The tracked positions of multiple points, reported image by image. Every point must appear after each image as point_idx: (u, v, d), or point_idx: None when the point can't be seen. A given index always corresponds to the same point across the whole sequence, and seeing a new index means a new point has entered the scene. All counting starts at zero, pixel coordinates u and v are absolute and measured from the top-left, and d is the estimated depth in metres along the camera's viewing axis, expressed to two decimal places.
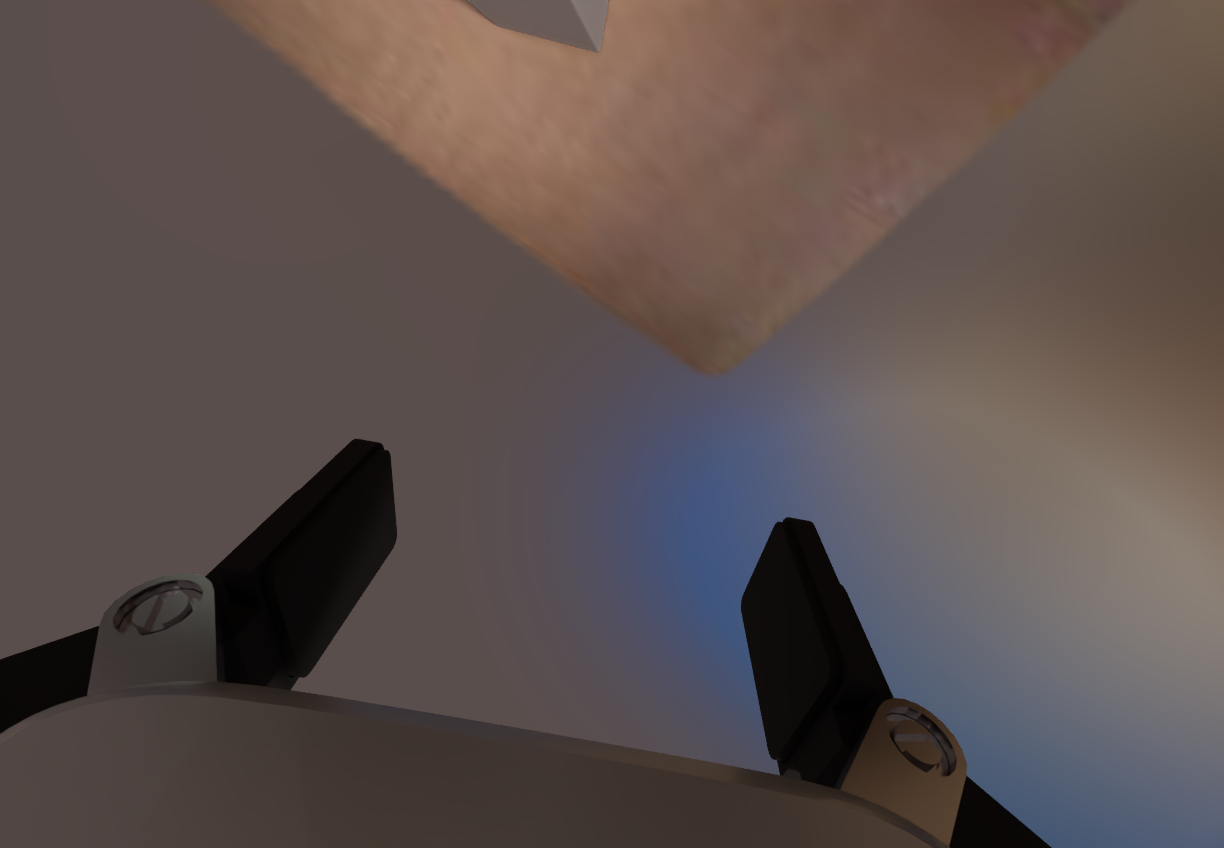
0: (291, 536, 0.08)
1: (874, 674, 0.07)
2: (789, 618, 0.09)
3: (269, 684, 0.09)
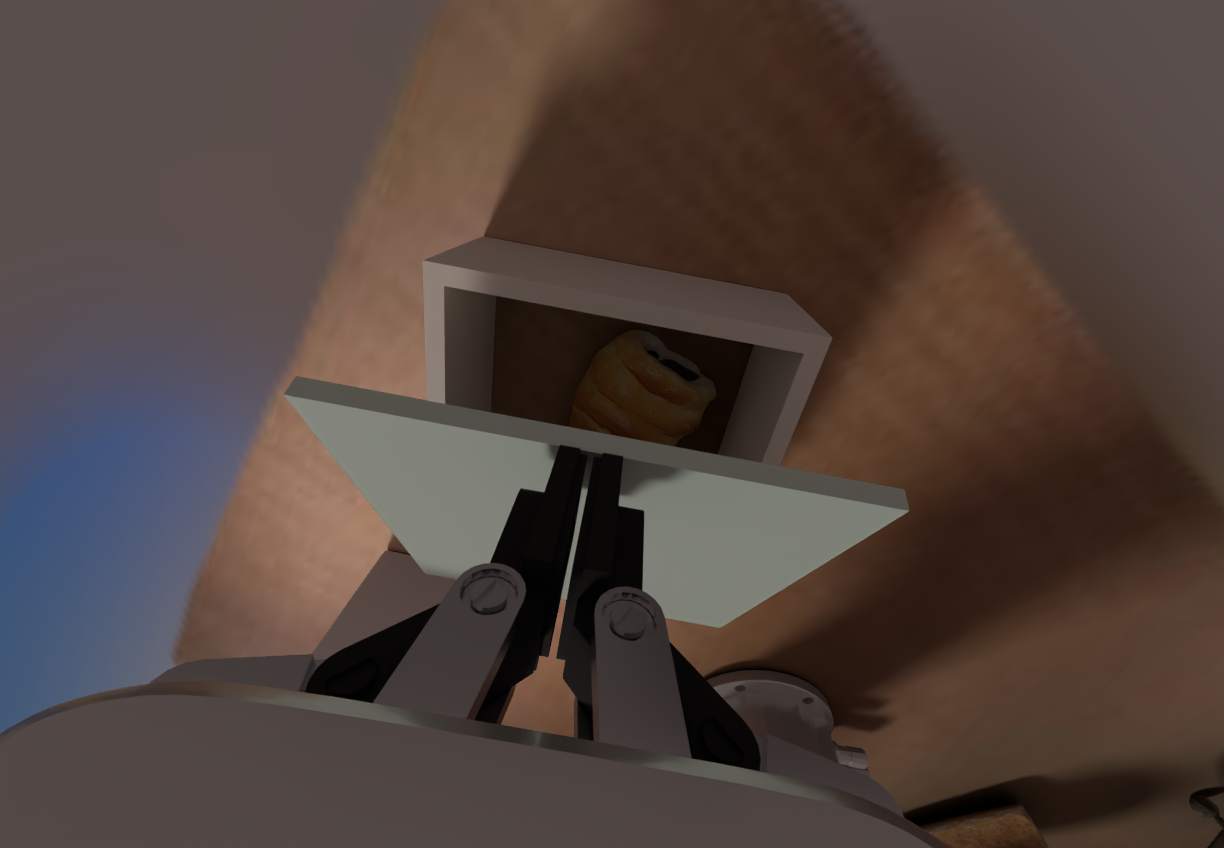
0: (560, 531, 0.09)
1: (608, 566, 0.08)
2: None
3: None
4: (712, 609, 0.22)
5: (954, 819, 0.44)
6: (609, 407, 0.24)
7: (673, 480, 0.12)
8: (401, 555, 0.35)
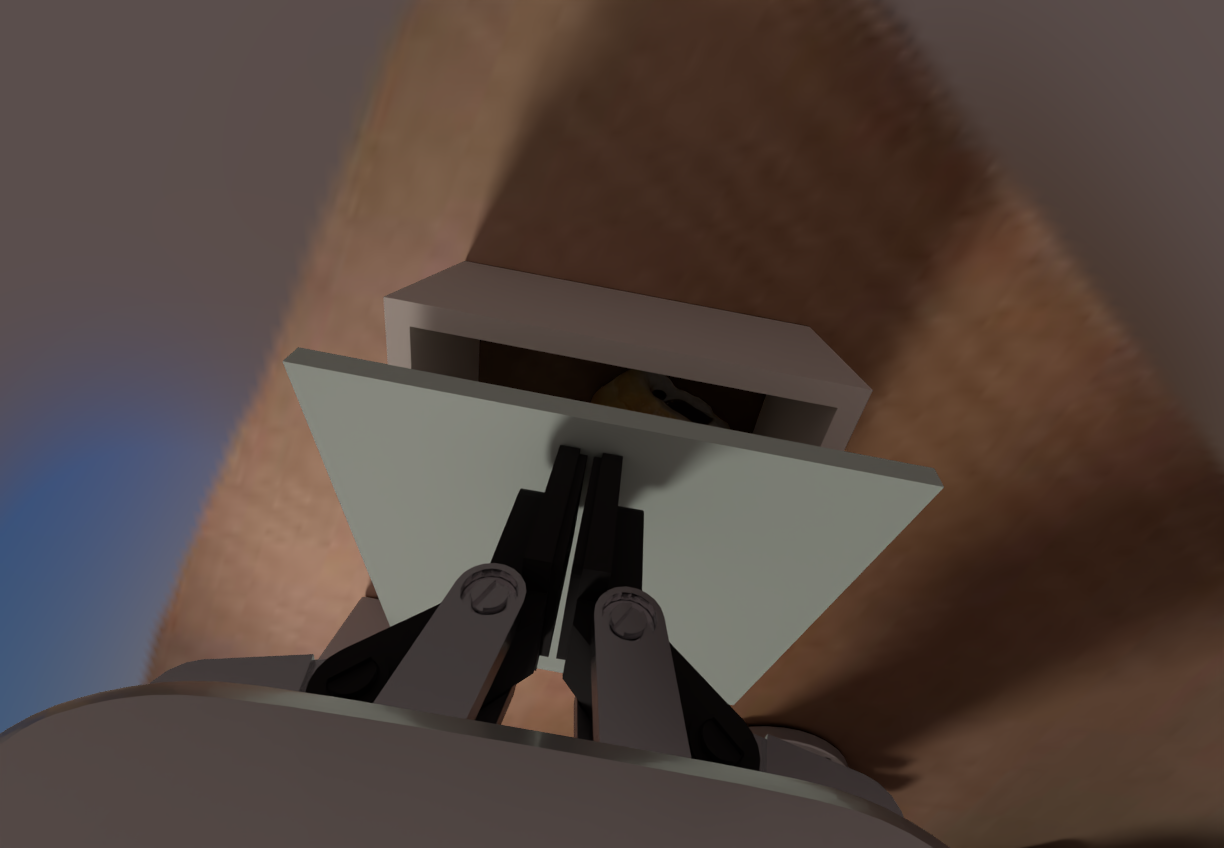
0: (560, 531, 0.09)
1: (607, 566, 0.08)
2: None
3: None
4: (725, 672, 0.19)
5: None
6: None
7: (692, 460, 0.12)
8: None
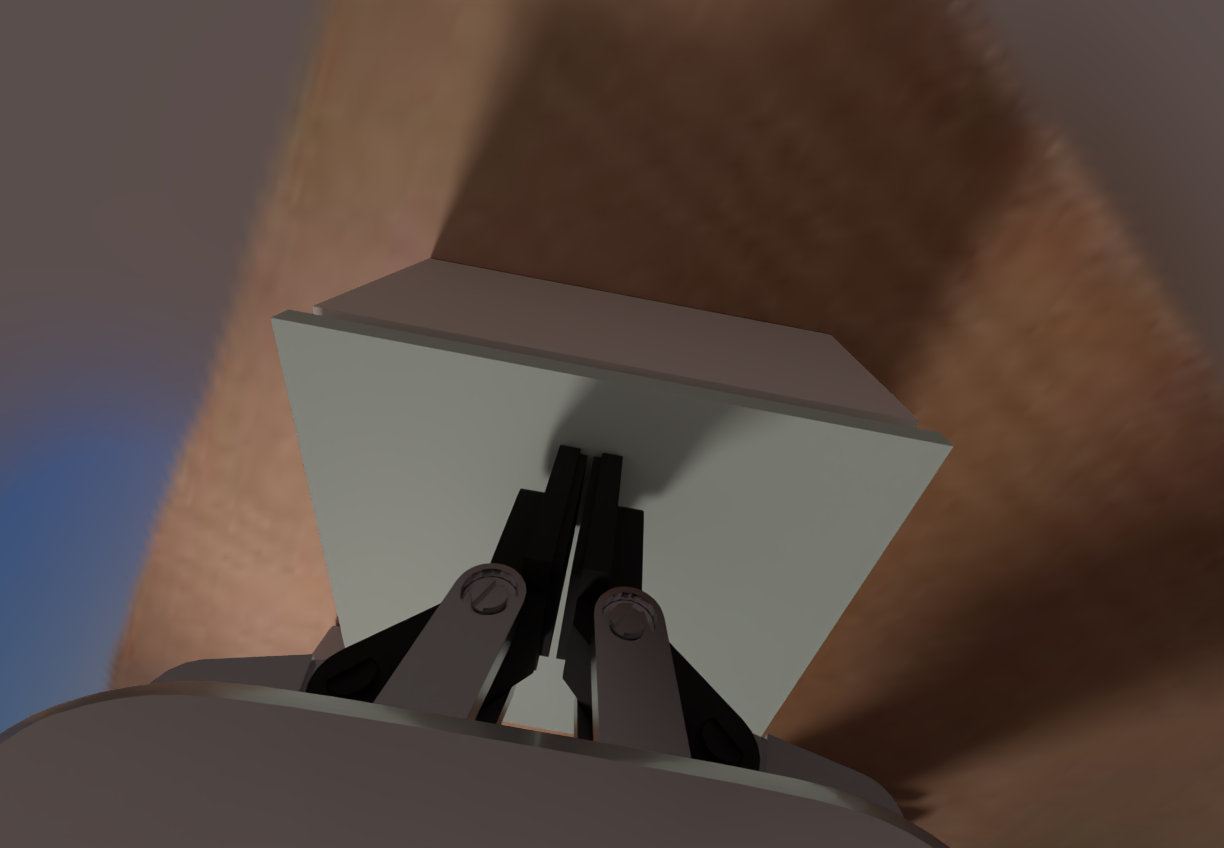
0: (560, 531, 0.09)
1: (607, 566, 0.08)
2: None
3: None
4: None
5: None
6: None
7: (695, 424, 0.11)
8: None
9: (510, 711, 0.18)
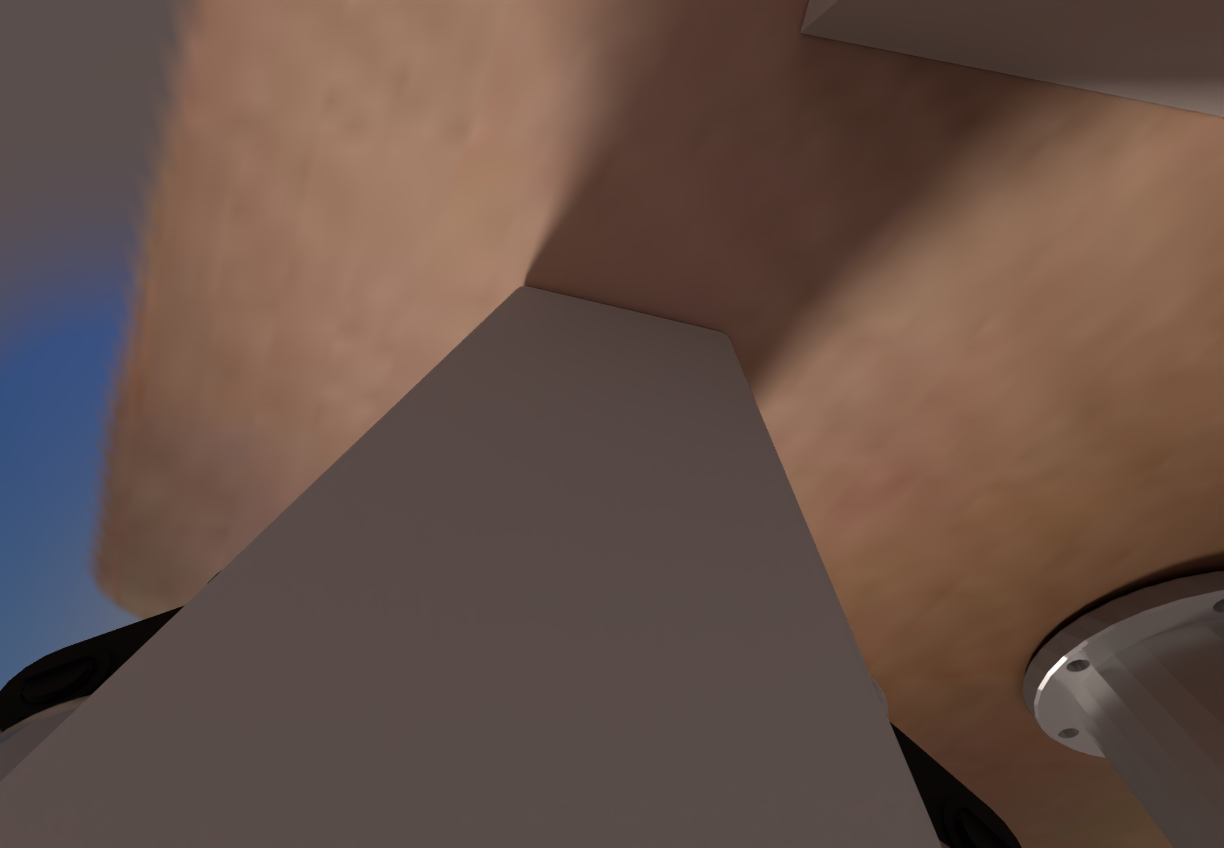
0: None
1: None
2: None
3: None
4: None
5: None
6: None
7: None
8: (558, 294, 0.15)
9: None
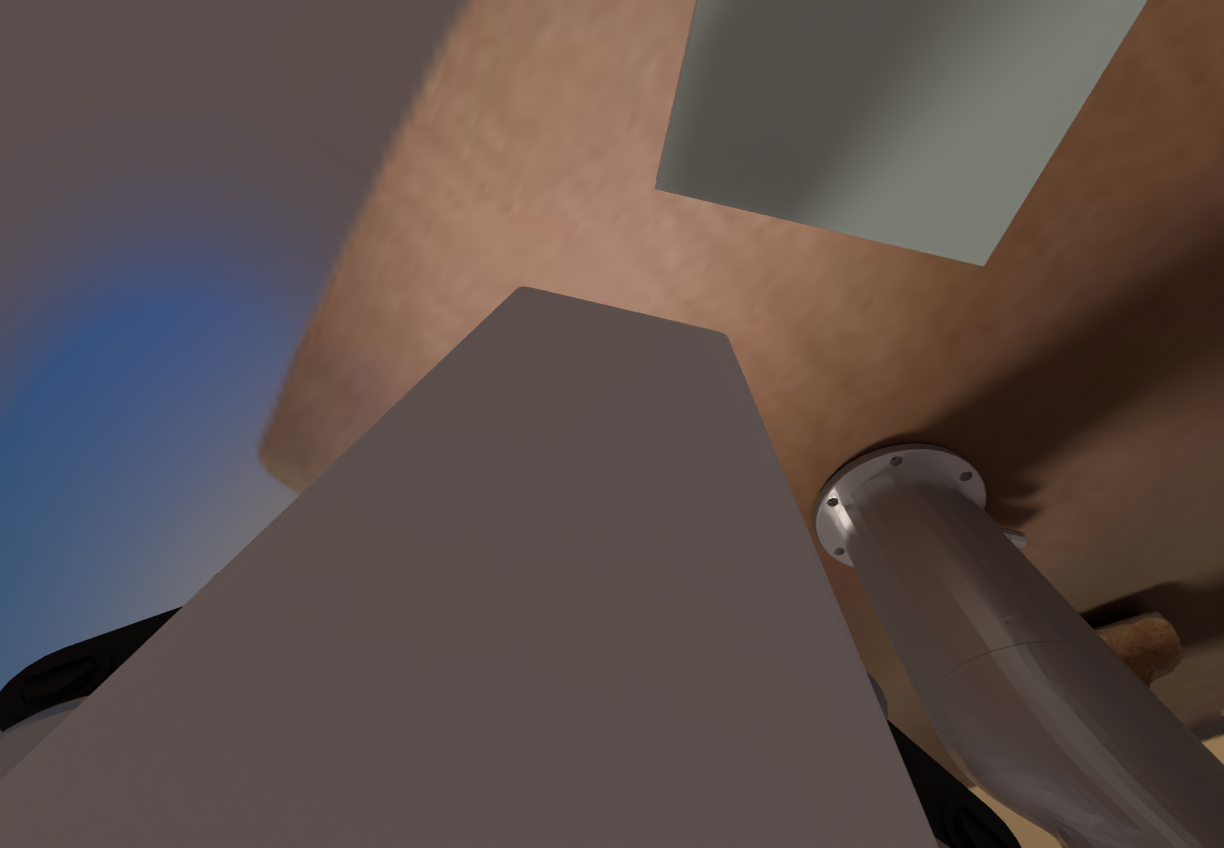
0: None
1: None
2: None
3: None
4: (1001, 181, 0.20)
5: None
6: None
7: None
8: (557, 295, 0.15)
9: (795, 200, 0.21)
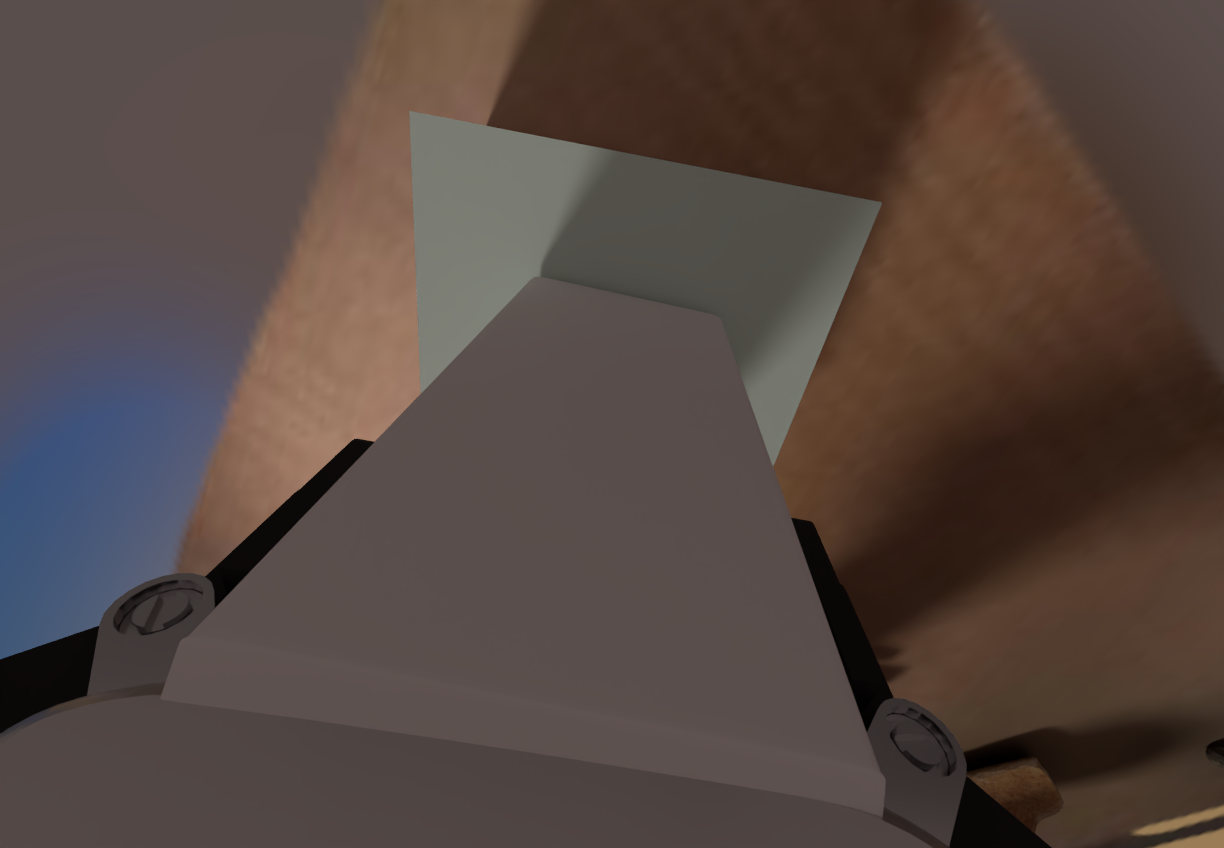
0: None
1: (874, 674, 0.07)
2: None
3: None
4: None
5: (966, 773, 0.43)
6: None
7: (703, 191, 0.16)
8: (568, 283, 0.17)
9: None
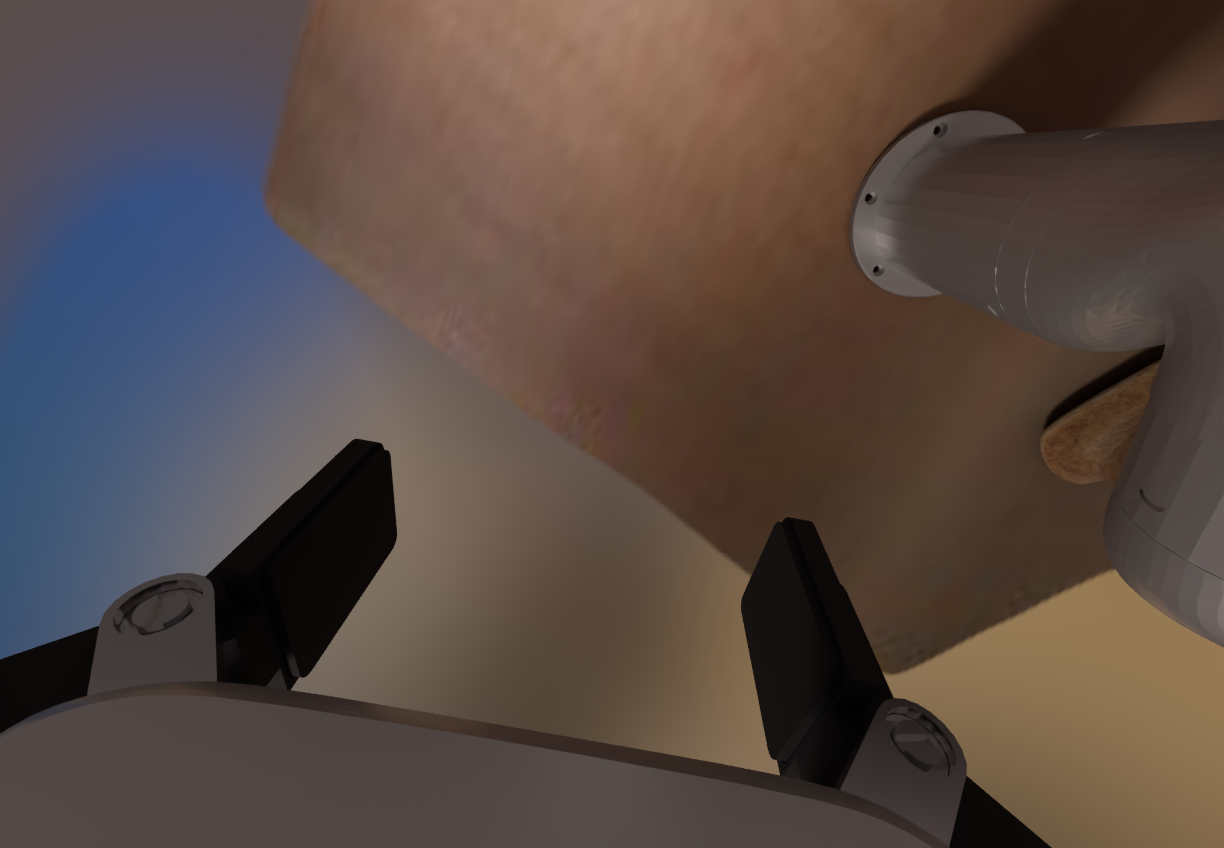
0: (291, 536, 0.08)
1: (874, 674, 0.07)
2: (789, 618, 0.09)
3: (269, 684, 0.09)
4: None
5: (1145, 367, 0.39)
6: None
7: None
8: None
9: None
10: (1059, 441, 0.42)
